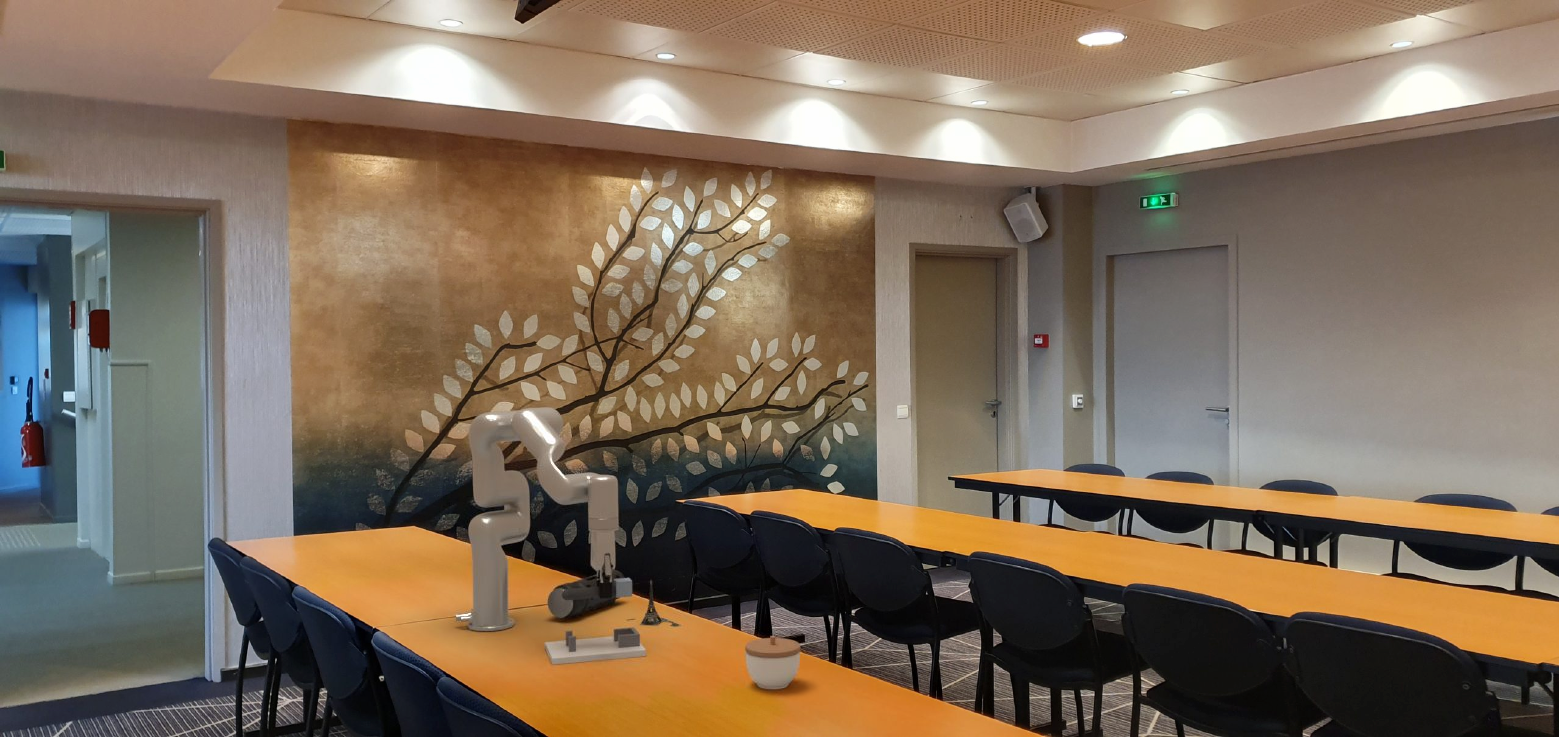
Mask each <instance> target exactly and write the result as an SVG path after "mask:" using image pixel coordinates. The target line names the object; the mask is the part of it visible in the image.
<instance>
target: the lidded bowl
mask: <svg viewBox="0 0 1559 737" xmlns="http://www.w3.org/2000/svg"><path fill="white" fill-rule="evenodd" d="M801 649H802V648H801V644H800V643H799V642H798V641H796V640H793V639H789V638H781V637H776V636H775V635H770V637H767V638H766V637H765V638H759V639H754V640H751V641H749V642H747V643H745V646H744V651H745V664H746V667H747V669H746V670H747V671H748V675H749V677H750V678H751V679H752V681H753V682H755V684H756V685H757V687H758V688H761V689H764V690H772V691H773V690H774V691H775V690H782V689H786V688H788V687H789V684H790V683H792V681H793V680H794V679H795V677H796V675H797V674H798V672H799V667H800V664H801V663H800V662H801V660H800V659H801Z"/></svg>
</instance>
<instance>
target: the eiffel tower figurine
mask: <svg viewBox="0 0 1559 737" xmlns="http://www.w3.org/2000/svg"><path fill="white" fill-rule="evenodd" d="M649 583H650V584H649V600H648V605H647V609H646V613H644V617H643V619H642V621H641V623H640V624H639V626H653V627H658V626H660V625H661V624H662V623H671V625H669V626H670V627H673V628H674V627H680V626H681V624H679V623H677V622H674V621H673V620H672V621H671V620H670V619H667V618H664V617H660V615H659V614H658V611H657V609H656V607H655V602H654V594H653V581H652V580H650V581H649ZM634 620H635V618H629V619H626V621H634Z"/></svg>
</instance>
